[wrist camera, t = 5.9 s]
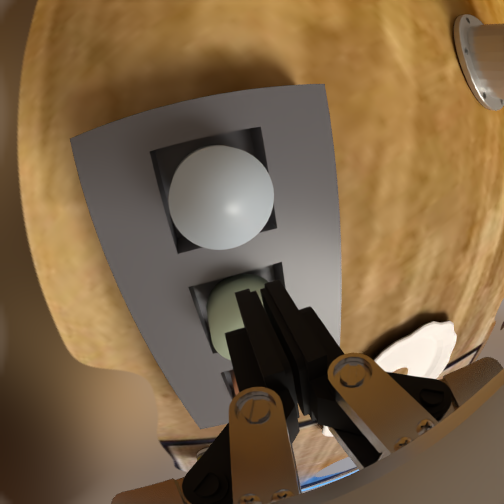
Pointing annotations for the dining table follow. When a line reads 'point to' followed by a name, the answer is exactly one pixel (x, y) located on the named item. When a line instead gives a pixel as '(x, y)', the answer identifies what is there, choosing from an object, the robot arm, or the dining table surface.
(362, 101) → the dining table surface
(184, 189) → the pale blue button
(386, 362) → the plate
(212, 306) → the sage button
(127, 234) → the button panel
